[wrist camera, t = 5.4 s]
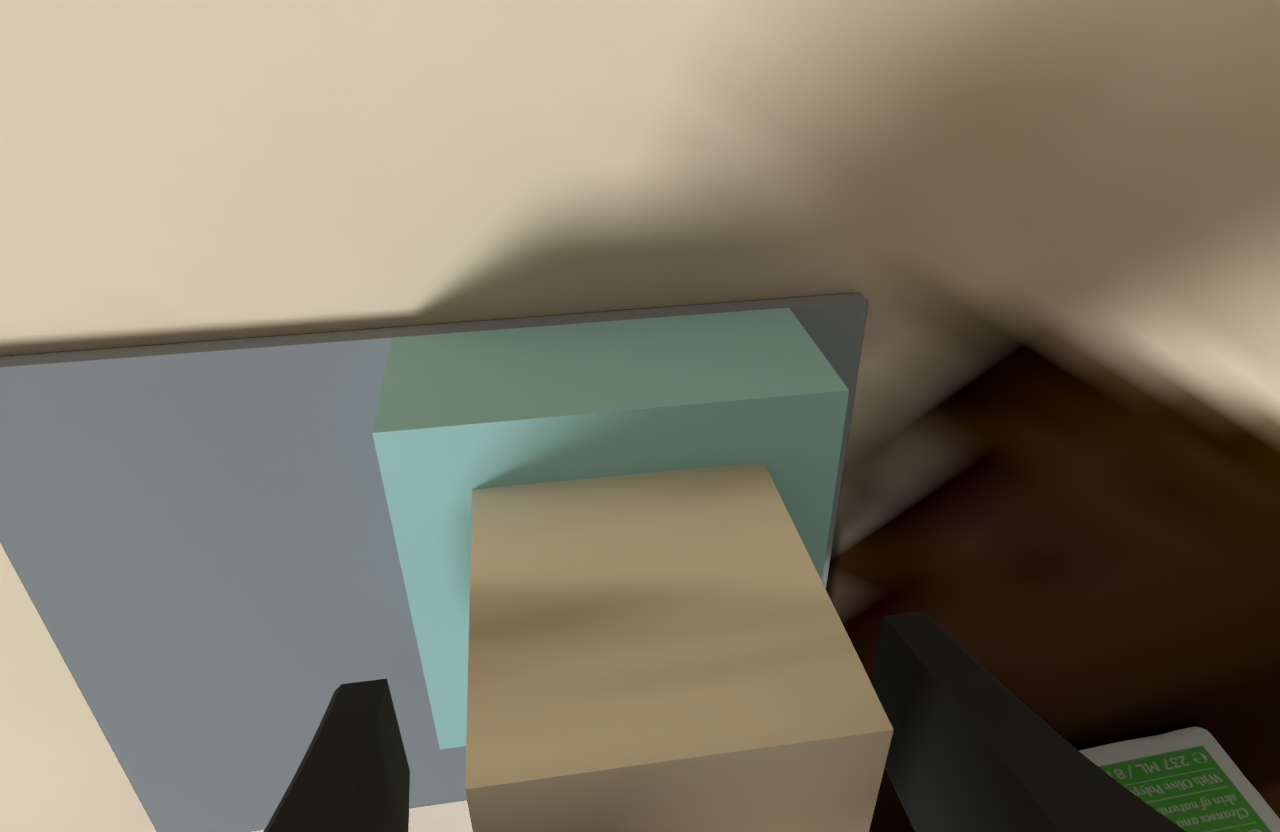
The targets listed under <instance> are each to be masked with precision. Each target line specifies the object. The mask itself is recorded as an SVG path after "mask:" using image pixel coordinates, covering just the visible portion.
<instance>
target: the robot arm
mask: <svg viewBox="0 0 1280 832" xmlns="http://www.w3.org/2000/svg"><path fill="white" fill-rule="evenodd" d="M870 682H871V684H872V686H873V688H874V690H875V692H876V694H877V696H878V698H879V701H880V703H881V705H882V707H883V709H884V711H885V713H886V715H887V717H888V719H889V721H890V723H891V725H892V727H893V729H894V730H893V734H892V738H891V742H890V747H889V751H888V755H887V759H886V763H885V768H886V770H887V773H888V776H889V778H890V780H891V782H892V784H893V786H894V789H895V791H896V793H897V795H898V797H899V799H900V801H901V803H902V805H903V808H904V810H905V812H906V814H907V816H908V818H909V820H910V822H911V824H912V826H913V829H914V831H915V832H1186V831H1185V830H1183V829H1182V828H1181V827H1179V826H1178V825H1176V824H1175V823H1174V822H1172V821H1171V820H1169V819H1168V818H1166V817H1165V816H1164V815H1162V814H1161V813H1159V812H1158V811H1157V810H1155V809H1154V808H1152V807H1151V806H1149V805H1148V804H1147V803H1145V802H1144V801H1143V800H1141V799H1140V798H1138V797H1137V796H1136V795H1134V794H1133V793H1132V792H1130V791H1129V790H1128V789H1126V788H1125V787H1124V786H1122V785H1121V784H1120V783H1119V782H1117V781H1116V780H1115V779H1113V778H1112V777H1111V776H1110V775H1108V774H1107V773H1106V772H1105V771H1103V770H1102V769H1101V768H1100V767H1098V766H1097V765H1096V764H1094V763H1093V762H1092V761H1091V760H1089V759H1088V758H1087V757H1086V756H1084V755H1083V754H1082V753H1081V752H1079V751H1078V750H1077V749H1076V748H1075V747H1073V746H1072V745H1071V744H1070V743H1069V742H1067V741H1066V740H1065V739H1064V738H1063V737H1061V736H1060V735H1059V734H1058V733H1057V732H1055V731H1054V730H1053V729H1052V728H1051V727H1050V726H1049V725H1047V724H1046V723H1045V722H1044V721H1043V720H1042V719H1041V718H1039V717H1038V716H1037V715H1036V714H1035V713H1034V712H1032V711H1031V710H1030V709H1029V708H1028V707H1027V706H1026V705H1024V704H1023V703H1022V702H1021V701H1020V700H1019V699H1017V698H1016V697H1015V696H1014V695H1013V694H1012V693H1011V692H1010V691H1009V690H1007V689H1006V688H1005V687H1004V686H1003V685H1002V684H1001V683H1000V682H999V681H997V680H996V679H995V678H994V677H993V676H992V675H991V674H990V673H989V672H988V671H987V670H985V669H984V668H983V667H982V666H981V665H980V664H979V663H978V662H977V661H976V660H975V659H974V658H972V657H971V656H970V655H969V654H968V653H967V652H966V651H965V650H964V649H963V648H962V647H961V646H960V645H958V644H957V643H956V642H955V641H954V640H953V639H952V638H951V637H950V636H949V635H948V634H947V633H946V632H944V631H943V630H942V629H941V628H940V627H939V626H938V625H937V624H936V623H935V622H934V621H932V620H931V619H930V618H929V617H928V616H927V615H926V614H925V613H924V612H923V611H921V612H913V613H905V614H897V615H889V616H883V621H882V626H881V631H880V636H879V641H878V646H877V651H876V656H875V661H874V666H873V671H872V676H871V681H870ZM409 788H410V769H409V765H408V761H407V757H406V753H405V749H404V745H403V741H402V737H401V733H400V729H399V725H398V721H397V717H396V713H395V709H394V705H393V701H392V697H391V693H390V689H389V685H388V681H387V679H379V680H371V681H363V682H355V683H347V684H341V685H340V686H339V687H338V688H337V689H336V690H335V691H334V693H333V696H332V698H331V700H330V703H329V705H328V707H327V710H326V712H325V714H324V716H323V718H322V720H321V723H320V725H319V727H318V729H317V731H316V733H315V735H314V737H313V740H312V742H311V744H310V746H309V748H308V750H307V752H306V754H305V756H304V758H303V760H302V762H301V763H300V765H299V767H298V769H297V771H296V773H295V775H294V777H293V779H292V781H291V783H290V785H289V787H288V788H287V790H286V792H285V794H284V796H283V798H282V799H281V801H280V803H279V805H278V807H277V808H276V810H275V812H274V814H273V816H272V818H271V819H270V821H269V823H268V825H267V827H266V828H265V830H264V832H408V822H409Z"/></svg>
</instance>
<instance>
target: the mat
mask: <svg viewBox="0 0 1280 832" xmlns="http://www.w3.org/2000/svg"><path fill="white" fill-rule="evenodd" d="M867 306H868V301H867V300H866V299H865V298H864V296H863V295H862V294H861V293H850V294H837V295H823V296H810V297H797V298H783V299H770V300H756V301H743V302H729V303H716V304H702V305H689V306H676V307H662V308H649V309H635V310H622V311H608V312H595V313H581V314H568V315H555V316H541V317H528V318H514V319H501V320H487V321H474V322H460V323H447V324H434V325H420V326H407V327H393V328H380V329H366V330H353V331H339V332H326V333H313V334H299V335H286V336H272V337H259V338H245V339H232V340H218V341H205V342H192V343H178V344H165V345H151V346H138V347H124V348H111V349H97V350H84V351H71V352H57V353H44V354H30V355H17V356H3V357H0V543H1V545H2V547H3V548H4V550H5V552H6V554H7V556H8V558H9V559H10V561H11V563H12V565H13V567H14V569H15V571H16V572H17V574H18V576H19V578H20V580H21V582H22V583H23V585H24V587H25V589H26V591H27V593H28V595H29V596H30V598H31V600H32V602H33V604H34V606H35V608H36V609H37V611H38V613H39V615H40V617H41V619H42V620H43V622H44V624H45V626H46V628H47V630H48V632H49V633H50V635H51V637H52V639H53V641H54V643H55V644H56V646H57V648H58V650H59V652H60V654H61V656H62V657H63V659H64V661H65V663H66V665H67V667H68V668H69V670H70V672H71V674H72V676H73V678H74V680H75V681H76V683H77V685H78V687H79V689H80V691H81V692H82V694H83V696H84V698H85V700H86V702H87V704H88V705H89V707H90V709H91V711H92V713H93V715H94V717H95V718H96V720H97V722H98V724H99V726H100V728H101V729H102V731H103V733H104V735H105V737H106V739H107V741H108V742H109V744H110V746H111V748H112V750H113V752H114V753H115V755H116V757H117V759H118V761H119V763H120V765H121V766H122V768H123V770H124V772H125V774H126V776H127V777H128V779H129V781H130V783H131V785H132V787H133V789H134V790H135V792H136V794H137V796H138V798H139V800H140V802H141V803H142V805H143V807H144V809H145V811H146V813H147V814H148V816H149V818H150V820H151V822H152V824H153V826H154V827H155V829H156V831H157V832H250V831H257V830H264V829H265V828H266V827H267V825H268V823H269V821H270V819H271V818H272V816H273V814H274V812H275V810H276V808H277V807H278V805H279V803H280V801H281V799H282V798H283V796H284V794H285V792H286V790H287V788H288V787H289V785H290V783H291V781H292V779H293V777H294V775H295V773H296V771H297V769H298V767H299V765H300V763H301V762H302V760H303V758H304V756H305V754H306V752H307V750H308V748H309V746H310V744H311V742H312V740H313V737H314V735H315V733H316V731H317V729H318V727H319V725H320V723H321V720H322V718H323V716H324V714H325V712H326V710H327V707H328V705H329V703H330V700H331V698H332V696H333V693H334V691H335V690H336V689H337V688H338V687H339V686H340V685H341V684H347V683H355V682H363V681H371V680H379V679H387V681H388V685H389V689H390V693H391V697H392V701H393V705H394V709H395V713H396V717H397V721H398V725H399V729H400V733H401V737H402V741H403V745H404V749H405V753H406V757H407V761H408V765H409V769H410V788H409V808H416V807H423V806H430V805H437V804H443V803H450V802H457V801H464V800H467V796H466V791H465V776H466V746H462V747H455V748H448V749H440V747H439V742H438V738H437V733H436V728H435V724H434V719H433V714H432V710H431V705H430V700H429V696H428V691H427V686H426V682H425V677H424V672H423V668H422V663H421V658H420V654H419V649H418V644H417V640H416V635H415V630H414V626H413V621H412V616H411V612H410V607H409V602H408V598H407V593H406V588H405V584H404V579H403V574H402V570H401V565H400V560H399V556H398V551H397V546H396V542H395V537H394V532H393V527H392V523H391V518H390V513H389V509H388V504H387V499H386V495H385V490H384V485H383V481H382V476H381V471H380V467H379V462H378V457H377V453H376V448H375V443H374V439H373V434H372V432H373V427H374V422H375V418H376V413H377V408H378V403H379V399H380V394H381V389H382V384H383V379H384V375H385V370H386V365H387V360H388V356H389V351H390V346H391V341H392V338H394V337H407V336H421V335H434V334H447V333H460V332H473V331H487V330H500V329H513V328H526V327H539V326H552V325H566V324H579V323H592V322H605V321H618V320H632V319H645V318H658V317H671V316H684V315H697V314H711V313H724V312H737V311H750V310H763V309H777V308H790V310H791V311H792V312H793V314H794V315H795V316H796V318H797V319H798V321H799V322H800V323H801V325H802V326H803V327H804V329H805V330H806V332H807V333H808V334H809V336H810V337H811V338H812V340H813V341H814V343H815V344H816V345H817V347H818V348H819V349H820V351H821V352H822V354H823V355H824V356H825V358H826V359H827V360H828V362H829V363H830V365H831V366H832V367H833V369H834V370H835V371H836V373H837V374H838V376H839V377H840V378H841V380H842V381H843V383H844V384H845V385H846V387H847V388H848V389H849V395H848V402H847V409H846V416H845V423H844V430H843V437H842V444H841V451H840V458H839V465H838V472H837V479H836V486H835V493H834V500H833V507H832V514H831V521H830V528H829V535H828V542H827V549H826V556H825V563H824V570H823V577H822V583H823V585H824V587H825V589H826V584H827V578H828V571H829V564H830V557H831V551H832V544H833V537H834V530H835V523H836V517H837V510H838V503H839V496H840V489H841V483H842V476H843V469H844V462H845V456H846V449H847V442H848V435H849V428H850V422H851V415H852V408H853V401H854V395H855V388H856V381H857V374H858V367H859V361H860V354H861V347H862V340H863V334H864V327H865V320H866V313H867Z"/></svg>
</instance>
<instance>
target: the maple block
mask: <svg viewBox="0 0 1280 832" xmlns="http://www.w3.org/2000/svg"><path fill="white" fill-rule="evenodd" d="M893 730H894V729H893V727H892V725H891V723H890V721H889V719H888V717H887V715H886V713H885V711H884V709H883V707H882V705H881V703H880V701H879V698H878V696H877V694H876V692H875V690H874V688H873V686H872V684H871V682H870V680H869V678H868V676H867V674H866V672H865V670H864V668H863V666H862V663H861V661H860V659H859V657H858V655H857V653H856V651H855V649H854V647H853V645H852V643H851V641H850V639H849V637H848V635H847V633H846V631H845V628H844V626H843V624H842V622H841V620H840V618H839V616H838V614H837V612H836V610H835V608H834V606H833V604H832V602H831V600H830V598H829V595H828V593H827V591H826V589H825V587H824V585H823V583H822V581H821V579H820V577H819V575H818V573H817V571H816V569H815V567H814V565H813V563H812V560H811V558H810V556H809V554H808V552H807V550H806V548H805V546H804V544H803V542H802V540H801V538H800V536H799V534H798V532H797V530H796V528H795V525H794V523H793V521H792V519H791V517H790V515H789V513H788V511H787V509H786V507H785V505H784V503H783V501H782V499H781V497H780V495H779V493H778V490H777V488H776V486H775V484H774V482H773V480H772V478H771V476H770V474H769V472H768V470H767V468H766V466H765V464H764V462H758V463H748V464H737V465H726V466H716V467H705V468H695V469H684V470H673V471H663V472H652V473H642V474H631V475H620V476H610V477H599V478H588V479H578V480H567V481H557V482H546V483H535V484H525V485H514V486H503V487H493V488H482V489H472V517H471V560H470V603H469V646H468V690H467V733H466V776H465V791H466V796H467V802H468V807H469V812H470V818H471V823H472V829H473V832H869V829H870V825H871V821H872V817H873V812H874V808H875V804H876V800H877V796H878V792H879V788H880V784H881V780H882V775H883V771H884V767H885V763H886V759H887V755H888V751H889V747H890V742H891V738H892V734H893Z"/></svg>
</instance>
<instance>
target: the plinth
mask: <svg viewBox="0 0 1280 832" xmlns="http://www.w3.org/2000/svg"><path fill="white" fill-rule="evenodd" d="M848 395H849V389H848V388H847V387H846V385H845V384H844V383H843V381H842V380H841V378H840V377H839V376H838V374H837V373H836V371H835V370H834V369H833V367H832V366H831V365H830V363H829V362H828V360H827V359H826V358H825V356H824V355H823V354H822V352H821V351H820V349H819V348H818V347H817V345H816V344H815V343H814V341H813V340H812V338H811V337H810V336H809V334H808V333H807V332H806V330H805V329H804V327H803V326H802V325H801V323H800V322H799V321H798V319H797V318H796V316H795V315H794V314H793V312H792V311H791V310H790V308H777V309H763V310H750V311H737V312H724V313H711V314H697V315H684V316H671V317H658V318H645V319H632V320H618V321H605V322H592V323H579V324H566V325H552V326H539V327H526V328H513V329H500V330H487V331H473V332H460V333H447V334H434V335H421V336H407V337H394V338H392V341H391V346H390V351H389V356H388V360H387V365H386V370H385V375H384V379H383V384H382V389H381V394H380V399H379V403H378V408H377V413H376V418H375V422H374V427H373V432H372V434H373V439H374V443H375V448H376V453H377V457H378V462H379V467H380V471H381V476H382V481H383V485H384V490H385V495H386V499H387V504H388V509H389V513H390V518H391V523H392V527H393V532H394V537H395V542H396V546H397V551H398V556H399V560H400V565H401V570H402V574H403V579H404V584H405V588H406V593H407V598H408V602H409V607H410V612H411V616H412V621H413V626H414V630H415V635H416V640H417V644H418V649H419V654H420V658H421V663H422V668H423V672H424V677H425V682H426V686H427V691H428V696H429V700H430V705H431V710H432V714H433V719H434V724H435V728H436V733H437V738H438V742H439V747H440V749H448V748H455V747H462V746H466V733H467V690H468V646H469V603H470V560H471V517H472V489H482V488H493V487H503V486H514V485H525V484H535V483H546V482H557V481H567V480H578V479H588V478H599V477H610V476H620V475H631V474H642V473H652V472H663V471H673V470H684V469H695V468H705V467H716V466H726V465H737V464H748V463H758V462H764V464H765V466H766V468H767V470H768V472H769V474H770V476H771V478H772V480H773V482H774V484H775V486H776V488H777V490H778V493H779V495H780V497H781V499H782V501H783V503H784V505H785V507H786V509H787V511H788V513H789V515H790V517H791V519H792V521H793V523H794V525H795V528H796V530H797V532H798V534H799V536H800V538H801V540H802V542H803V544H804V546H805V548H806V550H807V552H808V554H809V556H810V558H811V560H812V563H813V565H814V567H815V569H816V571H817V573H818V575H819V577H820V579H821V581H822V577H823V570H824V563H825V556H826V549H827V542H828V535H829V528H830V521H831V514H832V507H833V500H834V493H835V486H836V479H837V472H838V465H839V458H840V451H841V444H842V437H843V430H844V423H845V416H846V409H847V402H848Z"/></svg>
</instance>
